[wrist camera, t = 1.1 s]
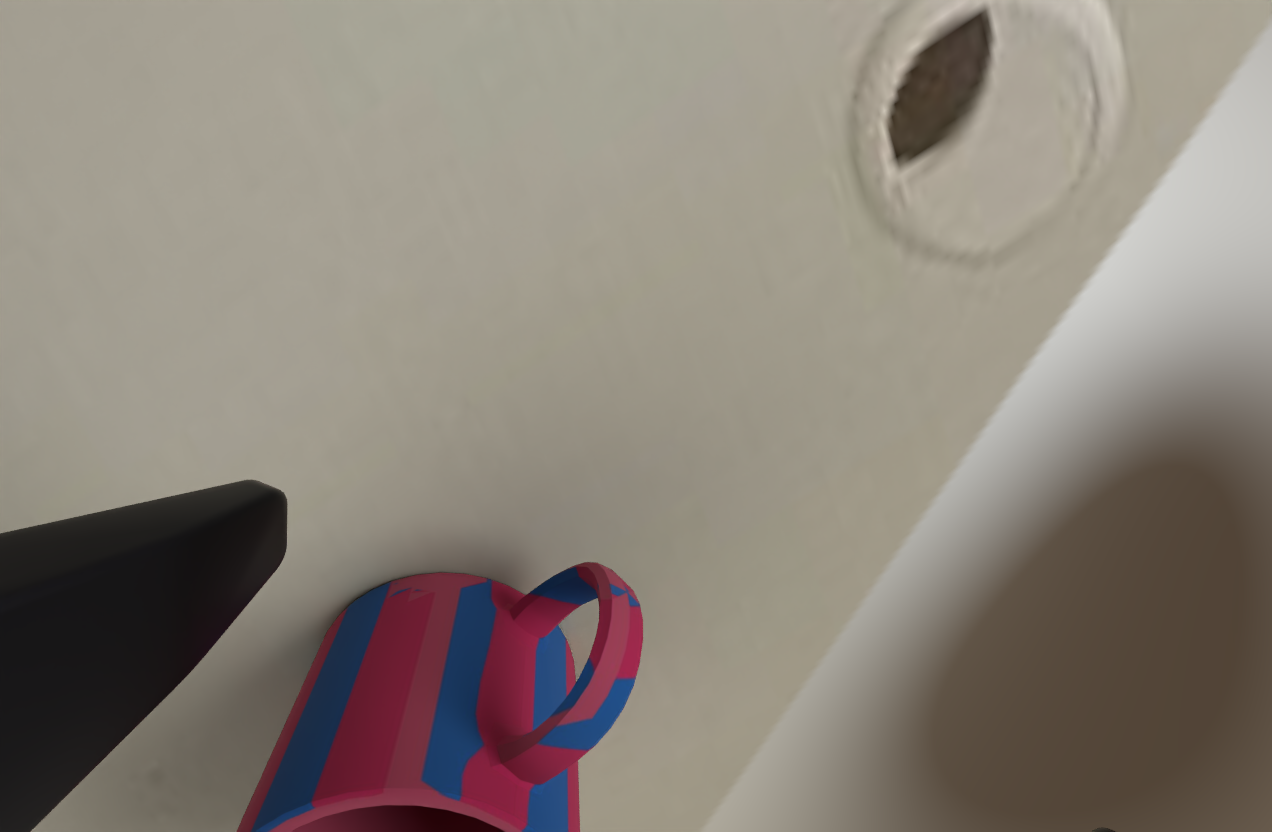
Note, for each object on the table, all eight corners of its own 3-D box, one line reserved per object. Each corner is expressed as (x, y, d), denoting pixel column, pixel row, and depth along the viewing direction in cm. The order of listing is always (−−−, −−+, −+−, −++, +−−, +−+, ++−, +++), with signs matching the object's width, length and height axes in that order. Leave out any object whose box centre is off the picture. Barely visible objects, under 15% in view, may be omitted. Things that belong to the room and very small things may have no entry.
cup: (261, 681, 20) (122, 943, 14) (541, 433, 18) (533, 601, 12) (452, 812, 22) (409, 1091, 16) (718, 602, 20) (791, 822, 14)
